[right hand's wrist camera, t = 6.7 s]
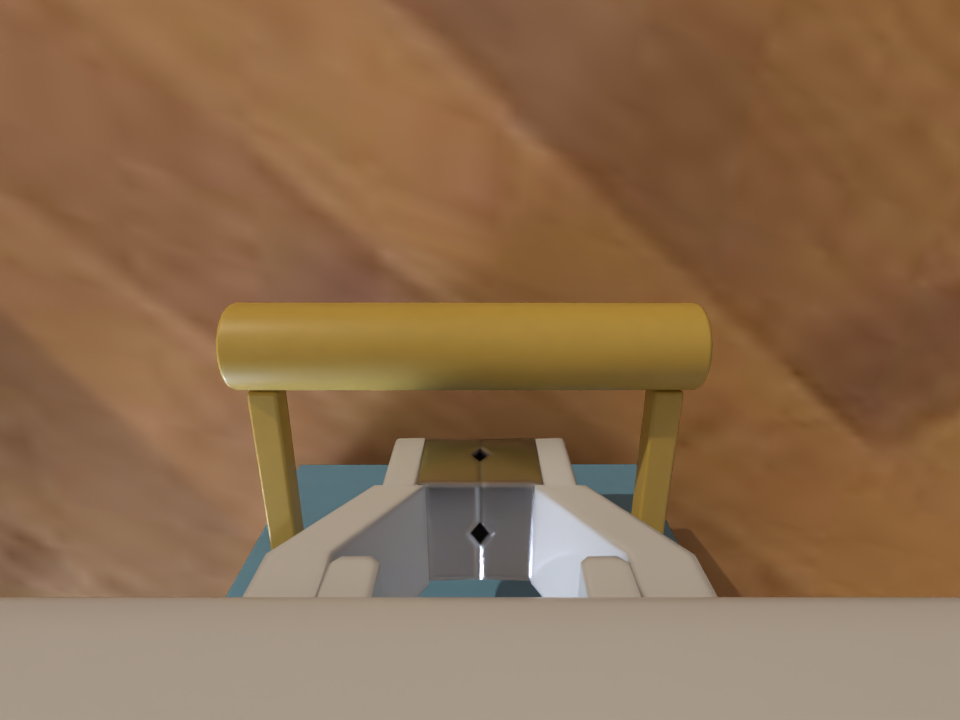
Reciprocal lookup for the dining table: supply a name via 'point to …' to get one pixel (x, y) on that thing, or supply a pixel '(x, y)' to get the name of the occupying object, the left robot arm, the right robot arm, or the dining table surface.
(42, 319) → the dining table surface
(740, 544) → the dining table surface
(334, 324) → the drawer
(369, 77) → the dining table surface
